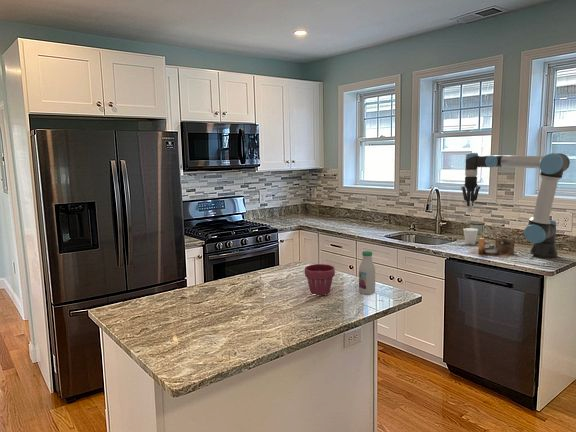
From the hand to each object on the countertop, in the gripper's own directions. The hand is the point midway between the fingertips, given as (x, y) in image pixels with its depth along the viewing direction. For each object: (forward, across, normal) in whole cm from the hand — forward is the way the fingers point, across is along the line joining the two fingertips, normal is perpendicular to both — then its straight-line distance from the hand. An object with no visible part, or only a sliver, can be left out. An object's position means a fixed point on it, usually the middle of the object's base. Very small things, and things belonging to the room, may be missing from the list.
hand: (469, 211), depth 298 cm
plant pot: (+28, +116, +82) cm, 144 cm away
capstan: (+25, -4, +19) cm, 32 cm away
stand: (+27, -5, +18) cm, 33 cm away
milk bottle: (+28, +93, +83) cm, 128 cm away
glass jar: (+26, -18, -24) cm, 40 cm away
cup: (+26, -9, -15) cm, 31 cm away
